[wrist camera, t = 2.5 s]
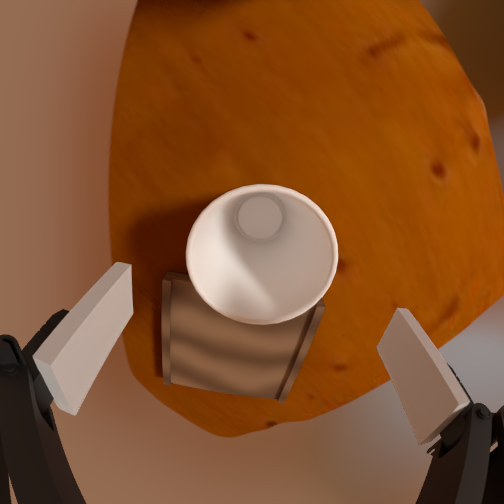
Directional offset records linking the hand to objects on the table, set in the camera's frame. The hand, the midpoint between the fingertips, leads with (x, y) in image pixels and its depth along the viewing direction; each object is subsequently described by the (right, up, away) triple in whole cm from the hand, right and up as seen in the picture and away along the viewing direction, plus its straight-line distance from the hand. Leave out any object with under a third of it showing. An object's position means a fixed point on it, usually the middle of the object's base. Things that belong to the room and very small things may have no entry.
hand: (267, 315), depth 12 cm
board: (-3, -9, +22) cm, 24 cm away
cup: (0, +7, +15) cm, 17 cm away
